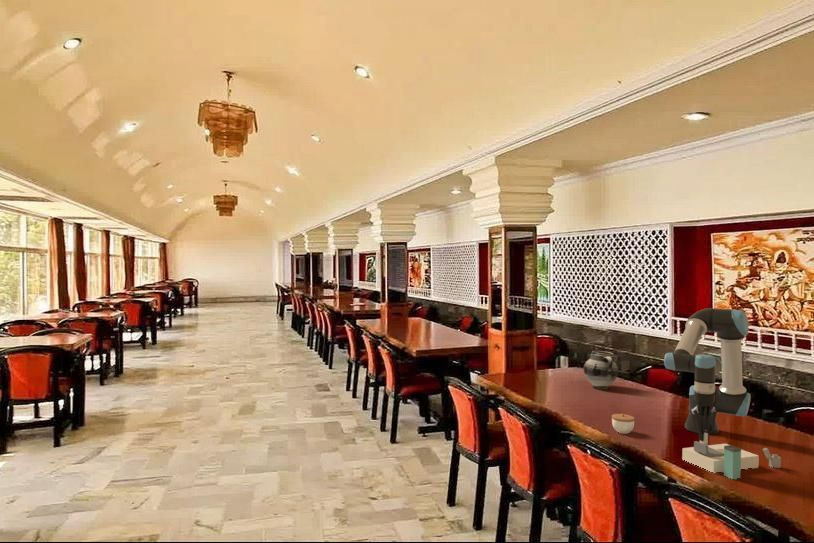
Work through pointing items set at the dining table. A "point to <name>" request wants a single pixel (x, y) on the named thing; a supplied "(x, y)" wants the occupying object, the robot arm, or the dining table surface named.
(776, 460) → the lighter
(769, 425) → the dining table surface
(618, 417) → the lidded jar
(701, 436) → the robot arm
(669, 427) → the dining table surface
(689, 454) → the socket
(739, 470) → the plug
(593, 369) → the ceramic pot
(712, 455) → the shutter
